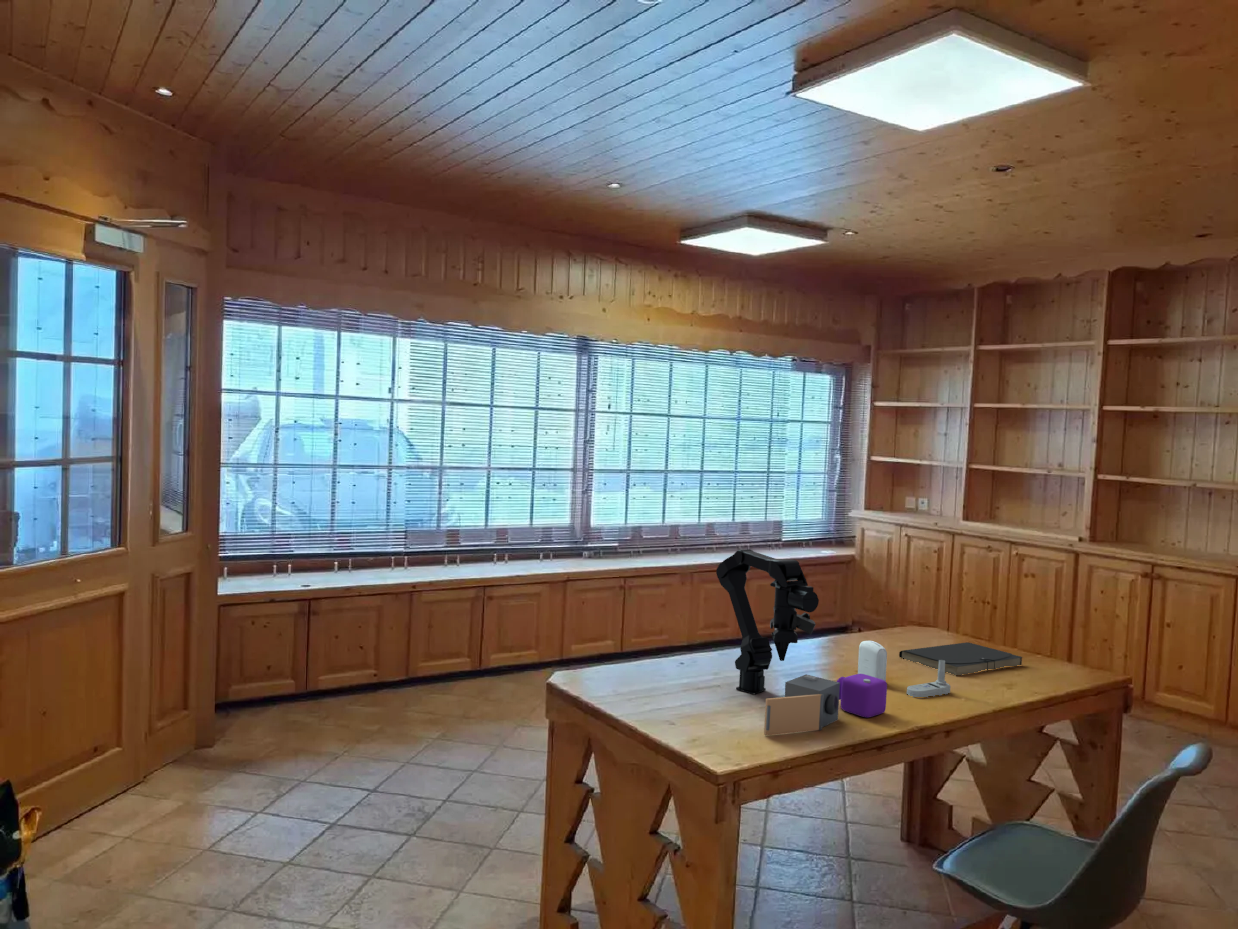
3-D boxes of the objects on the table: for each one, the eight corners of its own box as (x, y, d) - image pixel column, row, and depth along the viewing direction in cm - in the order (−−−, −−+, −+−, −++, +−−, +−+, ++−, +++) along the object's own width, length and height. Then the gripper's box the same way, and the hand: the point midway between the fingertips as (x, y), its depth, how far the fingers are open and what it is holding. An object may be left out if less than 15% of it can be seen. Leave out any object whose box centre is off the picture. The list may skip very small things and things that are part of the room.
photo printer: (855, 677, 272) (857, 638, 271) (866, 676, 273) (869, 637, 273) (875, 687, 262) (878, 646, 261) (887, 686, 263) (889, 645, 263)
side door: (766, 736, 214) (768, 700, 214) (763, 734, 215) (765, 698, 215) (823, 730, 220) (825, 695, 220) (819, 728, 222) (821, 693, 221)
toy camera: (842, 700, 247) (844, 666, 246) (889, 712, 238) (891, 676, 238) (825, 709, 239) (827, 673, 238) (873, 721, 230) (875, 684, 229)
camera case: (783, 719, 228) (785, 679, 228) (804, 710, 236) (806, 672, 236) (821, 730, 221) (824, 689, 220) (842, 721, 229) (844, 681, 228)
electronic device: (904, 662, 256) (941, 657, 262) (902, 695, 256) (940, 689, 263) (917, 667, 251) (955, 662, 257) (916, 701, 252) (954, 694, 258)
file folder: (957, 665, 277) (899, 648, 298) (957, 678, 277) (898, 660, 298) (1023, 656, 293) (963, 640, 314) (1022, 668, 294) (963, 651, 315)
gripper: (818, 614, 231) (815, 672, 231) (810, 600, 249) (807, 654, 250) (775, 611, 232) (772, 668, 232) (771, 598, 250) (768, 651, 251)
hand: (781, 660), depth 241 cm, fingers closed
